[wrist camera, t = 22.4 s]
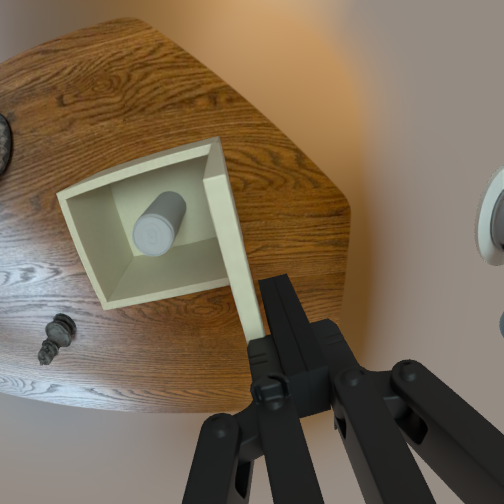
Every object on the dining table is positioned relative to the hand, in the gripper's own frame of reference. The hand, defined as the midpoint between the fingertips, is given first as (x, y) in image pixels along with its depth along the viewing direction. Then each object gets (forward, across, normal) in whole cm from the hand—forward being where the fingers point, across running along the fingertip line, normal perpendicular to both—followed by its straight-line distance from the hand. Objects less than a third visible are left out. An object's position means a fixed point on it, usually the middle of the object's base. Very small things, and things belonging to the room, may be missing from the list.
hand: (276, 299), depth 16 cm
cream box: (+30, -10, -1) cm, 32 cm away
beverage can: (+30, -10, -1) cm, 31 cm away
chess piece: (+32, -38, -18) cm, 53 cm away
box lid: (+6, -2, 0) cm, 6 cm away
